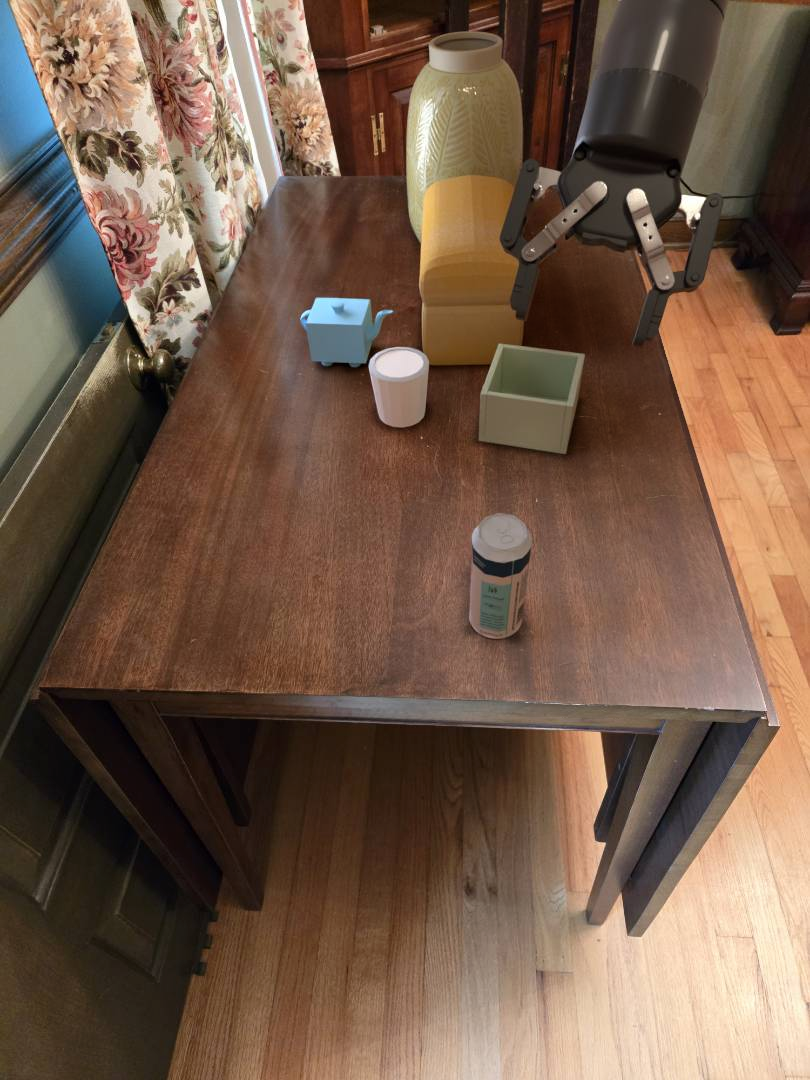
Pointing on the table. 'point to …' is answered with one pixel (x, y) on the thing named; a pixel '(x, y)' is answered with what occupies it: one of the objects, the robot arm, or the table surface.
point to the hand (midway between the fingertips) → (578, 332)
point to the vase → (462, 117)
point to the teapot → (341, 330)
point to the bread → (466, 272)
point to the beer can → (499, 575)
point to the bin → (530, 398)
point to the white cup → (400, 385)
